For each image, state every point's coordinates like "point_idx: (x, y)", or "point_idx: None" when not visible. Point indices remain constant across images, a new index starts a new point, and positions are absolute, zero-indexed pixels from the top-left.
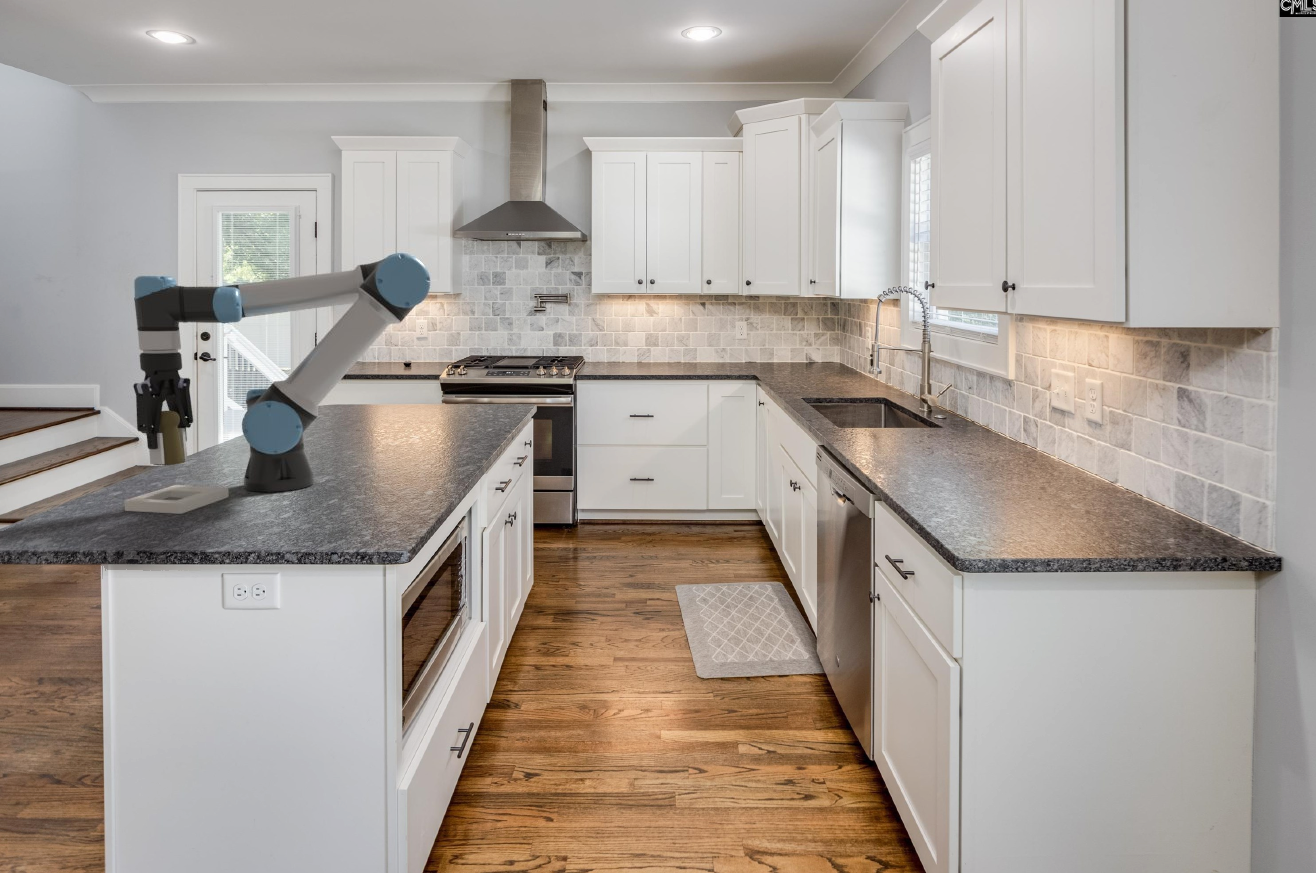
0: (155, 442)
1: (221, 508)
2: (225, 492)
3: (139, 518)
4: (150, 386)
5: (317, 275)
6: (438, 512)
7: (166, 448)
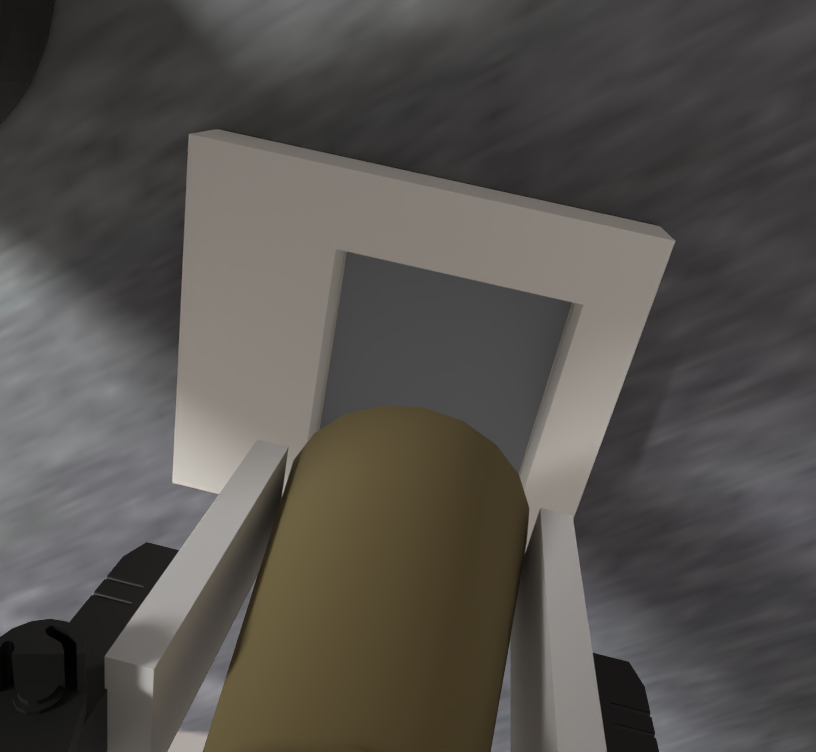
0: (616, 719)
1: (530, 19)
2: (229, 138)
3: (737, 408)
4: None
5: None
6: None
7: (504, 592)
